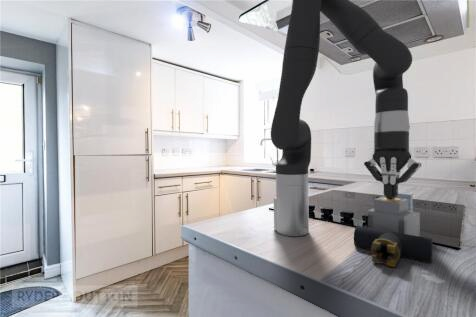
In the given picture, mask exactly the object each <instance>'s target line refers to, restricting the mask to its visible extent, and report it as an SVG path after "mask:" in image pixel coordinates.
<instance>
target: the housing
mask: <svg viewBox="0 0 476 317" xmlns="http://www.w3.org/2000/svg"><path fill="white" fill-rule="evenodd" d="M385 197H386V196H384V195H383V196H380V197H378V198H374V199H373V207H372V208H371V209H368V210H367V228H373V229H379V230H384V231H390V232H396V233H402V234H408V235H413V236H419V237H421V236H420V233H421V232H420V228H421V226H420V225H421V222H420V221H421V218H420V217H421V212H419V211H408V199H401V200H400V201H398V202H394V201H387V200H380V199H382V198H385ZM395 199H400V198H395Z"/></svg>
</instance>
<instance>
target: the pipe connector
mask: <svg viewBox="0 0 476 317" xmlns="http://www.w3.org/2000/svg"><path fill="white" fill-rule="evenodd" d="M353 245H354V246H355V247H357V246H358V248H363V249H367V250H370V253H371V259H372V260H371V262H372V263H376V264H384V265H386V266H388V267H393V268H396V267H395V266H396V265H397V263H398V261H399V260H400V258H401V257H402V258H408V259H413V260H418V261H421V262H427V263H431V264H432V262H433V261H432V260H433V238H430V237H425V236H420V237H419V236H413V235H408V234H402V233H396V232H390V231H384V230H379V229H373V228H368V226H362V225H361V226H360V225H356V226H355V228H354V231H353Z"/></svg>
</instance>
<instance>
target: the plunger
mask: <svg viewBox="0 0 476 317" xmlns="http://www.w3.org/2000/svg"><path fill="white" fill-rule="evenodd" d="M384 197H385V198H382V199H380V200H387V201H394V202H398V201H400V200H401V199H386V196H384Z"/></svg>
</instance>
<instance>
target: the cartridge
mask: <svg viewBox="0 0 476 317" xmlns="http://www.w3.org/2000/svg"><path fill="white" fill-rule="evenodd" d="M395 198H400V199H408V211H413V198H414V197H413V193H408V192H407V193H405V192H398V196H397V197H395ZM413 212H414V211H413Z"/></svg>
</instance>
